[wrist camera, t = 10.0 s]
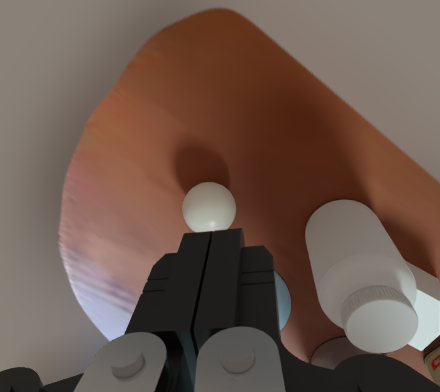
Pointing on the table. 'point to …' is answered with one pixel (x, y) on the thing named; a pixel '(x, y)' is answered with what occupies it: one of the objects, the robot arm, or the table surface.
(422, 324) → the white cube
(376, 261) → the pill bottle
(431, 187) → the table surface
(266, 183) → the table surface
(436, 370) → the lighter
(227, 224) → the cue ball
